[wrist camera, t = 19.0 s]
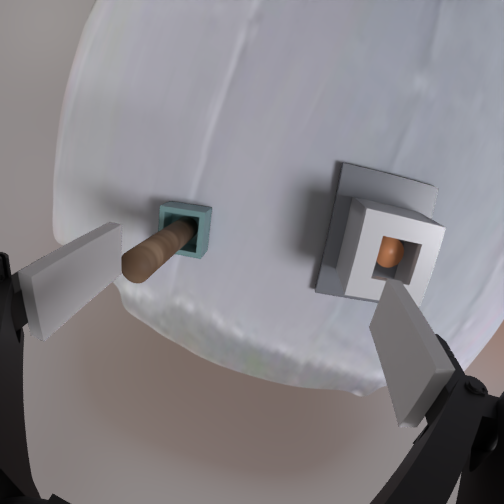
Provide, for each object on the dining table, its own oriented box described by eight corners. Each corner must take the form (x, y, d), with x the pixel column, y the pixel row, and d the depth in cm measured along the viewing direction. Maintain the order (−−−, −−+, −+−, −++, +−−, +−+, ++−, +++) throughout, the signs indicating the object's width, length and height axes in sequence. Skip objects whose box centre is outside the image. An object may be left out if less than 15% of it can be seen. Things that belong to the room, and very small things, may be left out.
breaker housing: (342, 162, 38) (356, 166, 29) (435, 187, 37) (467, 197, 29) (314, 289, 44) (319, 322, 35) (402, 303, 43) (421, 335, 35)
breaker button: (370, 225, 39) (379, 234, 34) (396, 231, 38) (407, 240, 34) (363, 252, 40) (371, 264, 36) (389, 257, 40) (398, 269, 35)
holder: (169, 201, 42) (159, 205, 39) (212, 207, 42) (205, 212, 39) (166, 242, 44) (157, 250, 41) (207, 250, 44) (200, 258, 41)
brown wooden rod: (177, 214, 42) (119, 247, 27) (199, 218, 42) (150, 254, 27) (175, 236, 43) (120, 279, 28) (196, 240, 43) (149, 286, 28)
